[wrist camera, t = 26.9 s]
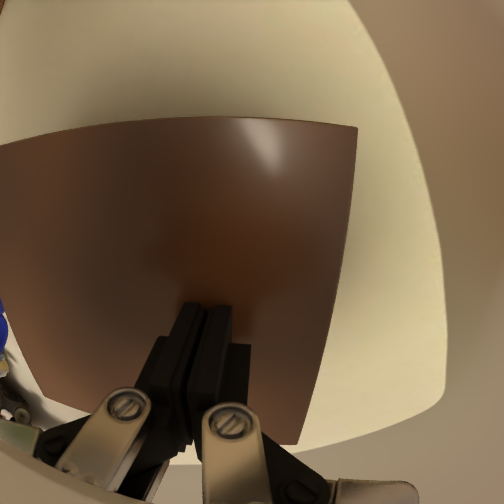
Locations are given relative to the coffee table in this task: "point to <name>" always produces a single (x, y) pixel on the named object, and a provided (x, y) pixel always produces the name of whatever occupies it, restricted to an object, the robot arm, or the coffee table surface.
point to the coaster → (1, 4)
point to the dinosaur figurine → (3, 366)
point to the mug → (3, 328)
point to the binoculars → (15, 407)
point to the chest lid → (176, 249)
